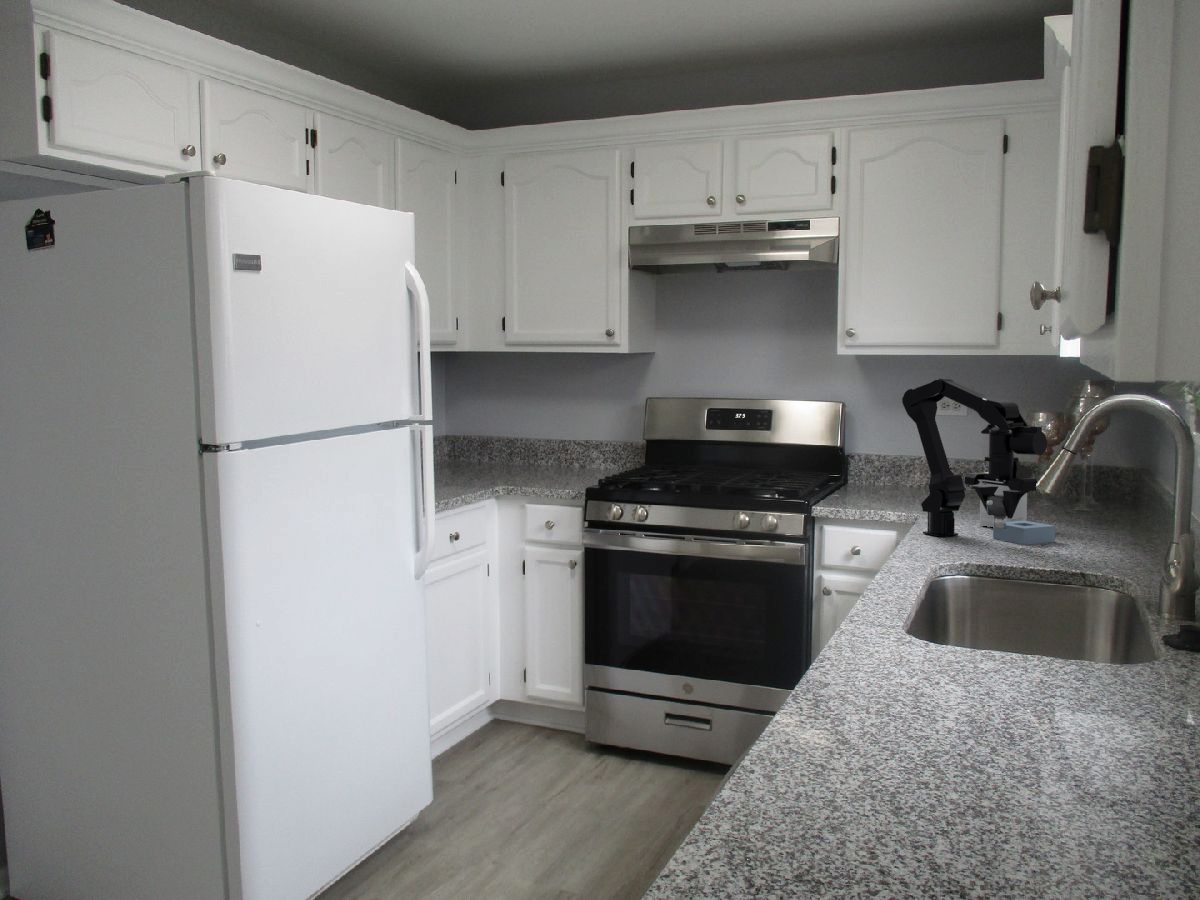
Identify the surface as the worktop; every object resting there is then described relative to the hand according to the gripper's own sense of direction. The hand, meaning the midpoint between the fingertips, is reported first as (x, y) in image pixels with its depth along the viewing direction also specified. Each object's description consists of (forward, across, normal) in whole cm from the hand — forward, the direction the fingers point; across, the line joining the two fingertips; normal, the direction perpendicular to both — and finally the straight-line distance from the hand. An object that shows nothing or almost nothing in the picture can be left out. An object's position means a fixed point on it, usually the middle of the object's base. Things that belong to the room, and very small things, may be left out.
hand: (1000, 516), depth 232 cm
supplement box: (+7, +21, -22) cm, 31 cm away
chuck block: (+7, +2, -10) cm, 12 cm away
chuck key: (+3, 0, 0) cm, 3 cm away
